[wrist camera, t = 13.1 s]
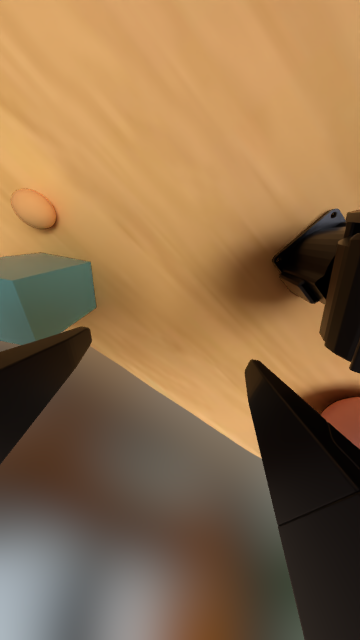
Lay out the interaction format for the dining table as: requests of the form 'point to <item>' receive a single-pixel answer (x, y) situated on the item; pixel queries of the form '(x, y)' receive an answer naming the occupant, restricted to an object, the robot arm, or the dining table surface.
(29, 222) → the orange small ball
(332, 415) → the balloon
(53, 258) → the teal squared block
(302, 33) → the dining table surface
